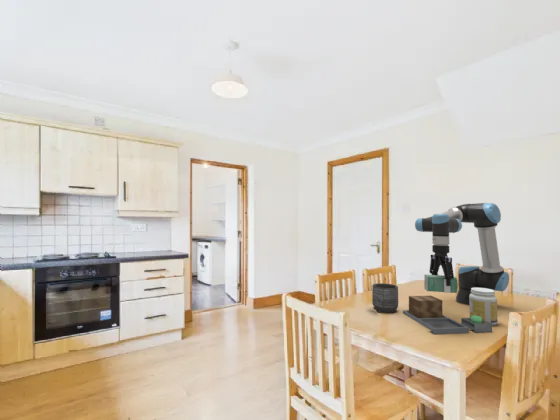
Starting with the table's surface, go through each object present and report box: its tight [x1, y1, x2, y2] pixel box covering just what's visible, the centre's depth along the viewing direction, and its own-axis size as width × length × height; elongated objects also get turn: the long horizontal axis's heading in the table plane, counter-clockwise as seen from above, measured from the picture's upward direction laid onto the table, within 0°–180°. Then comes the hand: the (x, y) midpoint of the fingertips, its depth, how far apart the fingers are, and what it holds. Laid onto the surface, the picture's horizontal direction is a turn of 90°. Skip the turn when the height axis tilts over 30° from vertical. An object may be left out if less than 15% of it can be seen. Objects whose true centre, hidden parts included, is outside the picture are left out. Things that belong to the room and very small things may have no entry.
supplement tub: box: [468, 288, 499, 327], centre depth 158 cm, size 12×12×17 cm
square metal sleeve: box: [460, 317, 493, 334], centre depth 148 cm, size 9×9×4 cm
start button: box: [471, 315, 482, 323], centre depth 148 cm, size 4×4×4 cm
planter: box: [371, 282, 399, 314], centre depth 176 cm, size 14×14×15 cm
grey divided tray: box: [402, 309, 470, 335], centre depth 156 cm, size 18×29×2 cm, turn 6°
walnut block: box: [408, 295, 443, 318], centre depth 163 cm, size 13×10×10 cm
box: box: [423, 274, 459, 294], centre depth 151 cm, size 7×14×8 cm, turn 78°
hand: (441, 290), depth 151 cm, fingers closed on box, 9 cm apart
